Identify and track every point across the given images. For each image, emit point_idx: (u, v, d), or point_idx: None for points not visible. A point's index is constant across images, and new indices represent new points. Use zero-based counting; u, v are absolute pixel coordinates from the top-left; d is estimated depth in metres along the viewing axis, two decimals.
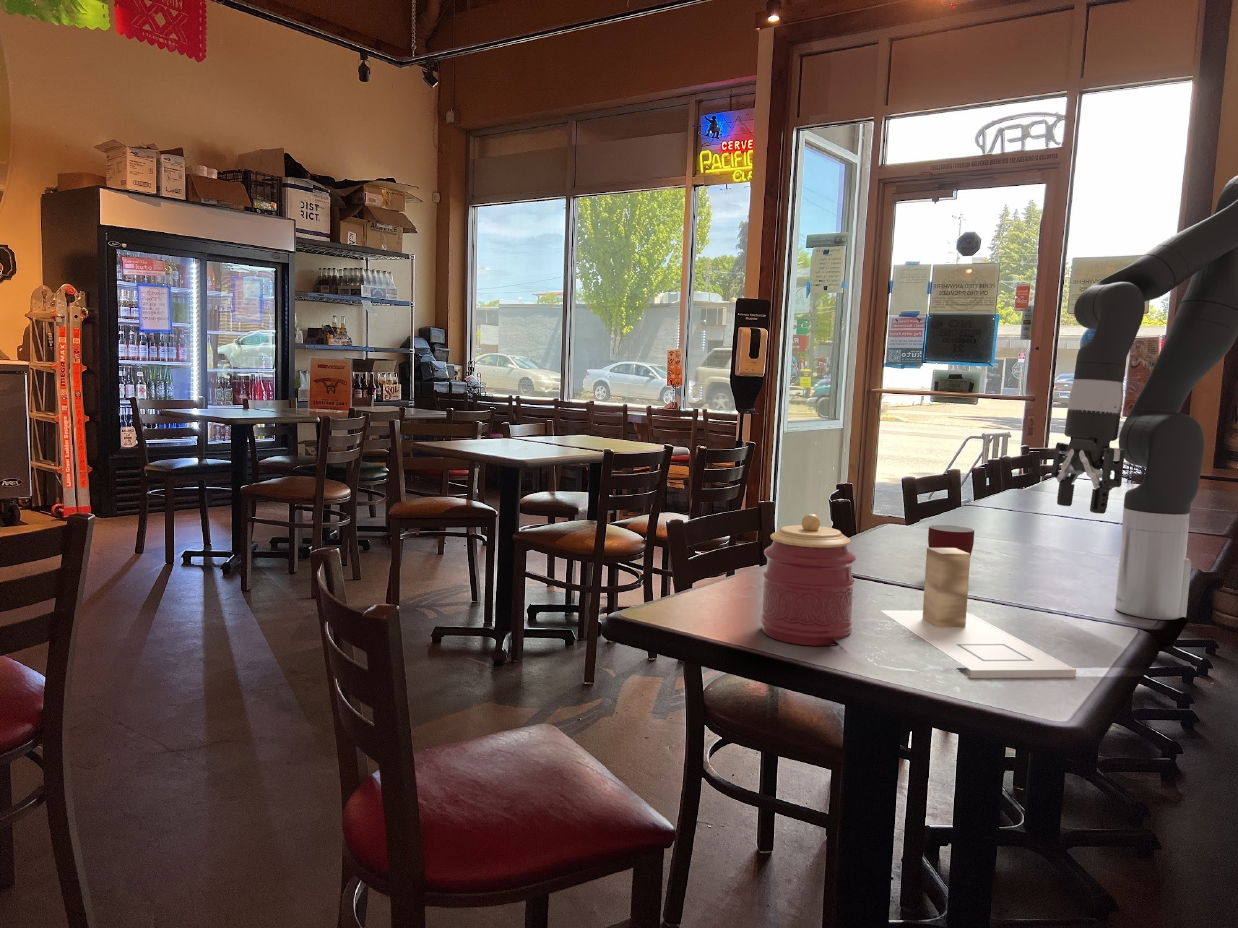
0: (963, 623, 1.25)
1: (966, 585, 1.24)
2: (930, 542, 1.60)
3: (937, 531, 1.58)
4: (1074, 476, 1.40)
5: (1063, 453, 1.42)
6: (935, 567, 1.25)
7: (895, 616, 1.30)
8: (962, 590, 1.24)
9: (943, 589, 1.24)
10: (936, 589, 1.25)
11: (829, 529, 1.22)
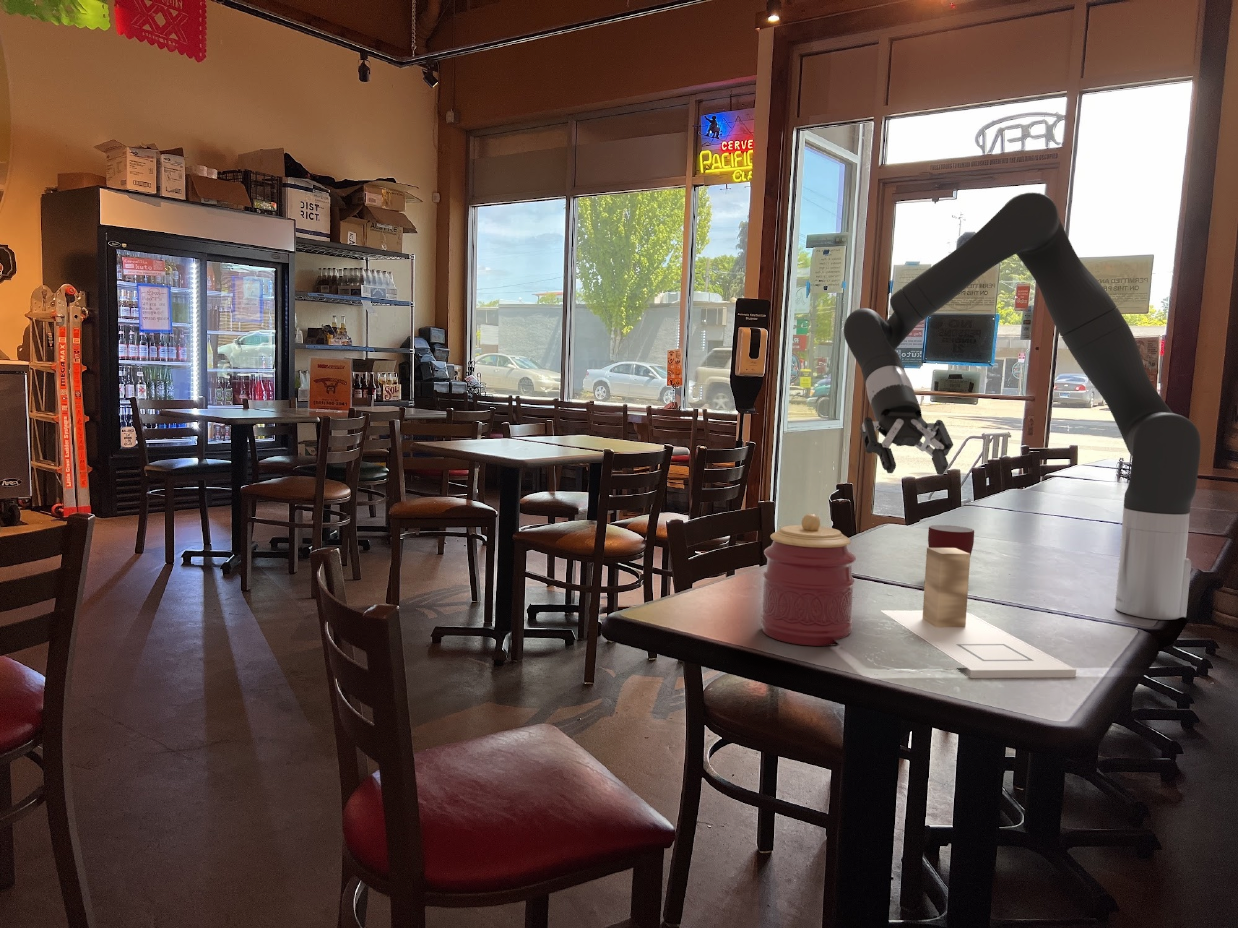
0: (963, 623, 1.25)
1: (966, 585, 1.24)
2: (930, 542, 1.60)
3: (937, 531, 1.58)
4: (932, 444, 1.39)
5: (932, 434, 1.43)
6: (935, 567, 1.25)
7: (895, 616, 1.30)
8: (962, 590, 1.24)
9: (943, 589, 1.24)
10: (936, 589, 1.25)
11: (829, 529, 1.22)
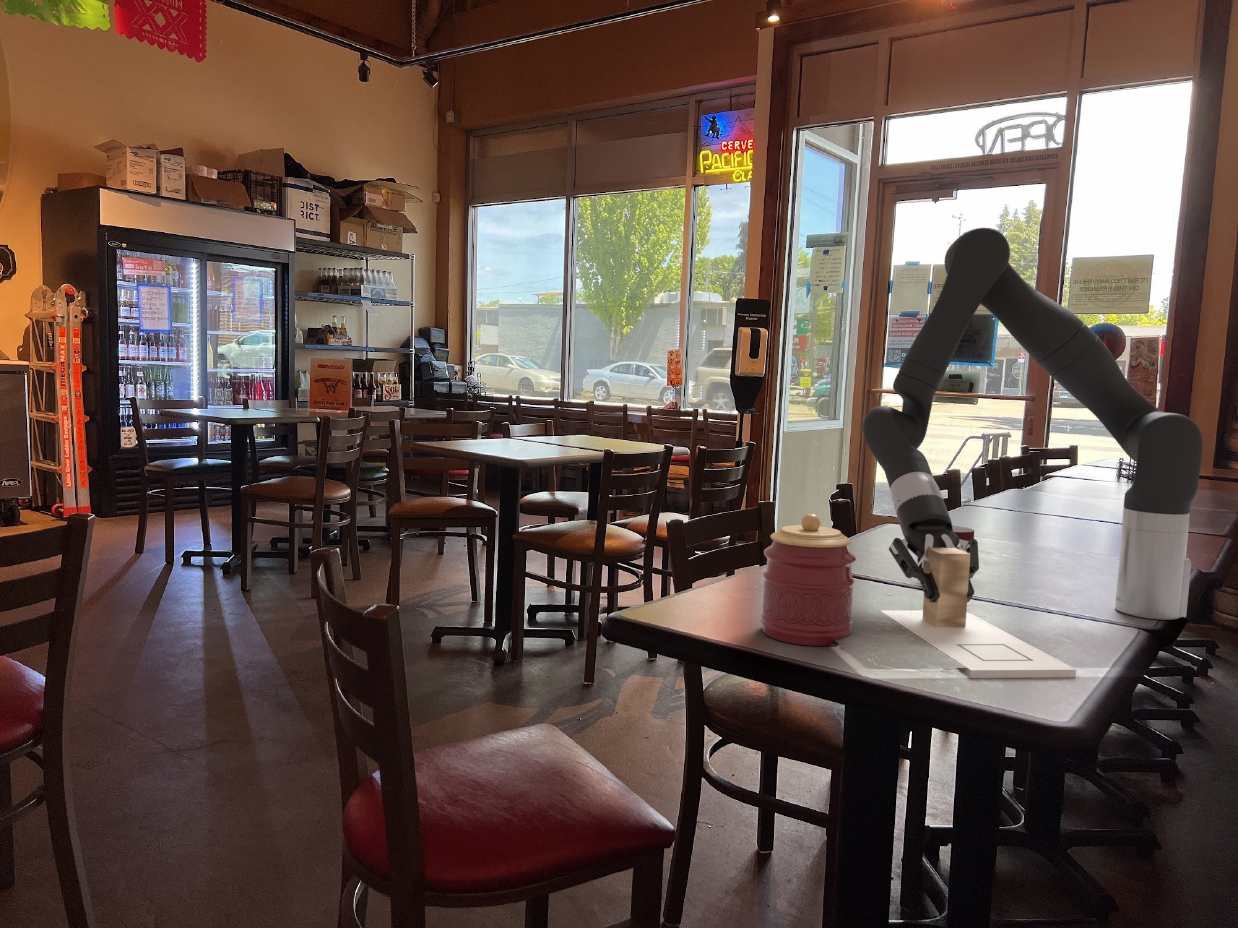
0: (963, 623, 1.25)
1: (966, 585, 1.24)
2: None
3: None
4: None
5: None
6: (935, 567, 1.25)
7: (895, 616, 1.30)
8: (962, 590, 1.24)
9: (943, 589, 1.24)
10: None
11: (829, 529, 1.22)
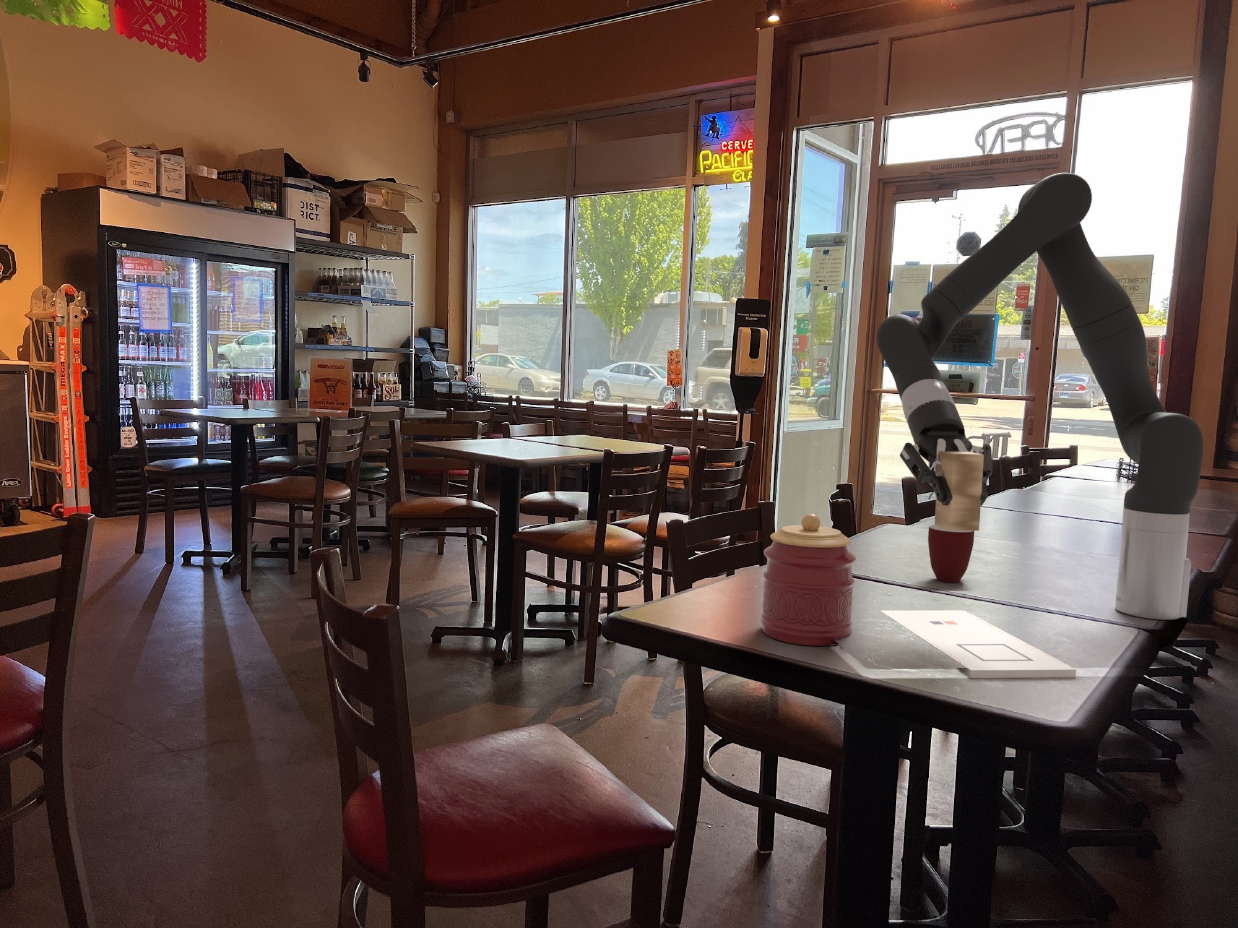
0: (976, 526, 1.22)
1: (979, 487, 1.21)
2: (930, 542, 1.60)
3: (937, 531, 1.58)
4: None
5: None
6: (947, 470, 1.22)
7: (895, 616, 1.30)
8: (975, 492, 1.21)
9: (955, 491, 1.21)
10: None
11: (829, 529, 1.22)
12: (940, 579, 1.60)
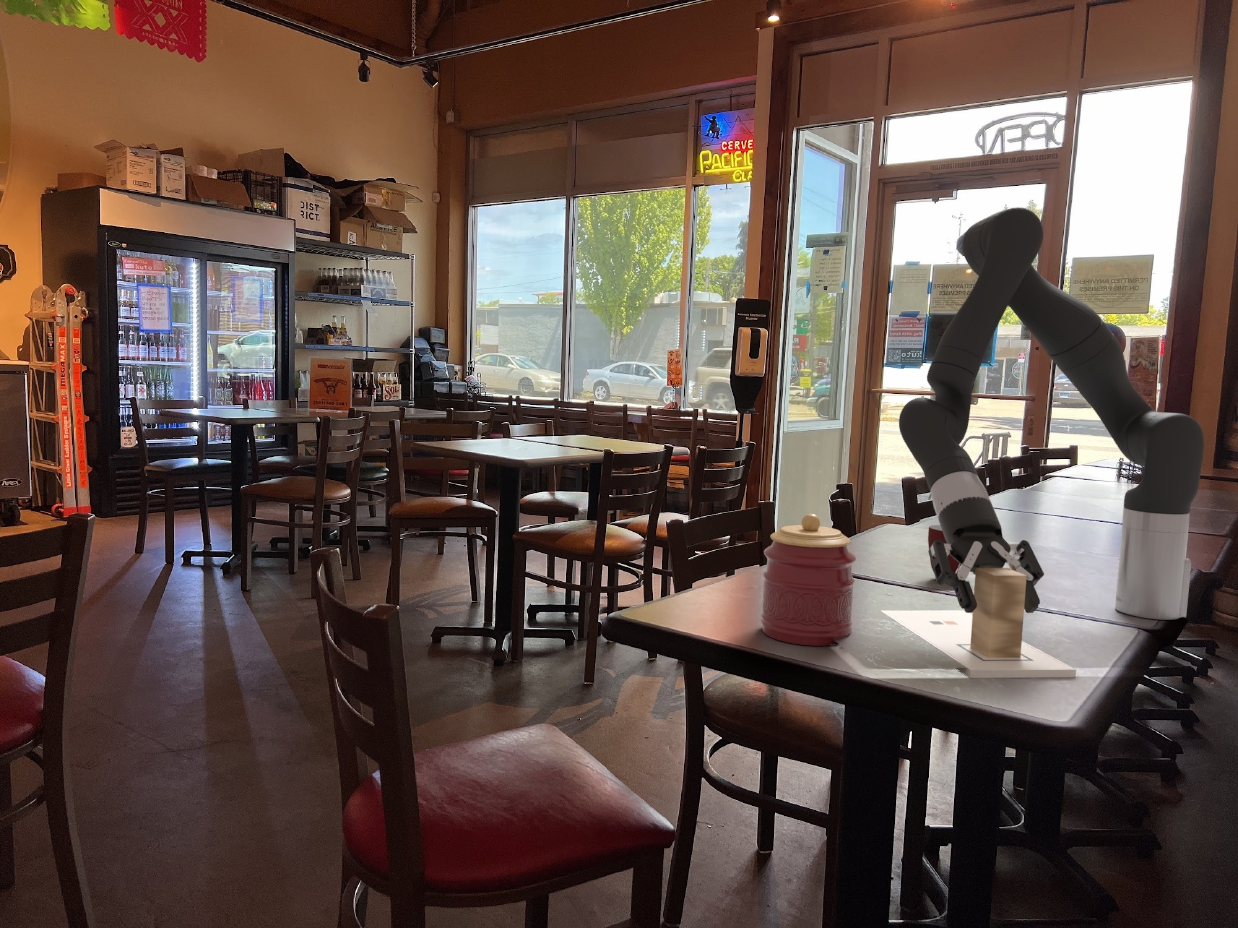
0: (1018, 653, 1.11)
1: (1021, 610, 1.11)
2: (930, 542, 1.60)
3: (937, 531, 1.58)
4: None
5: None
6: (986, 591, 1.11)
7: (895, 616, 1.30)
8: (1017, 616, 1.11)
9: (995, 615, 1.10)
10: (988, 616, 1.11)
11: (829, 529, 1.22)
12: None
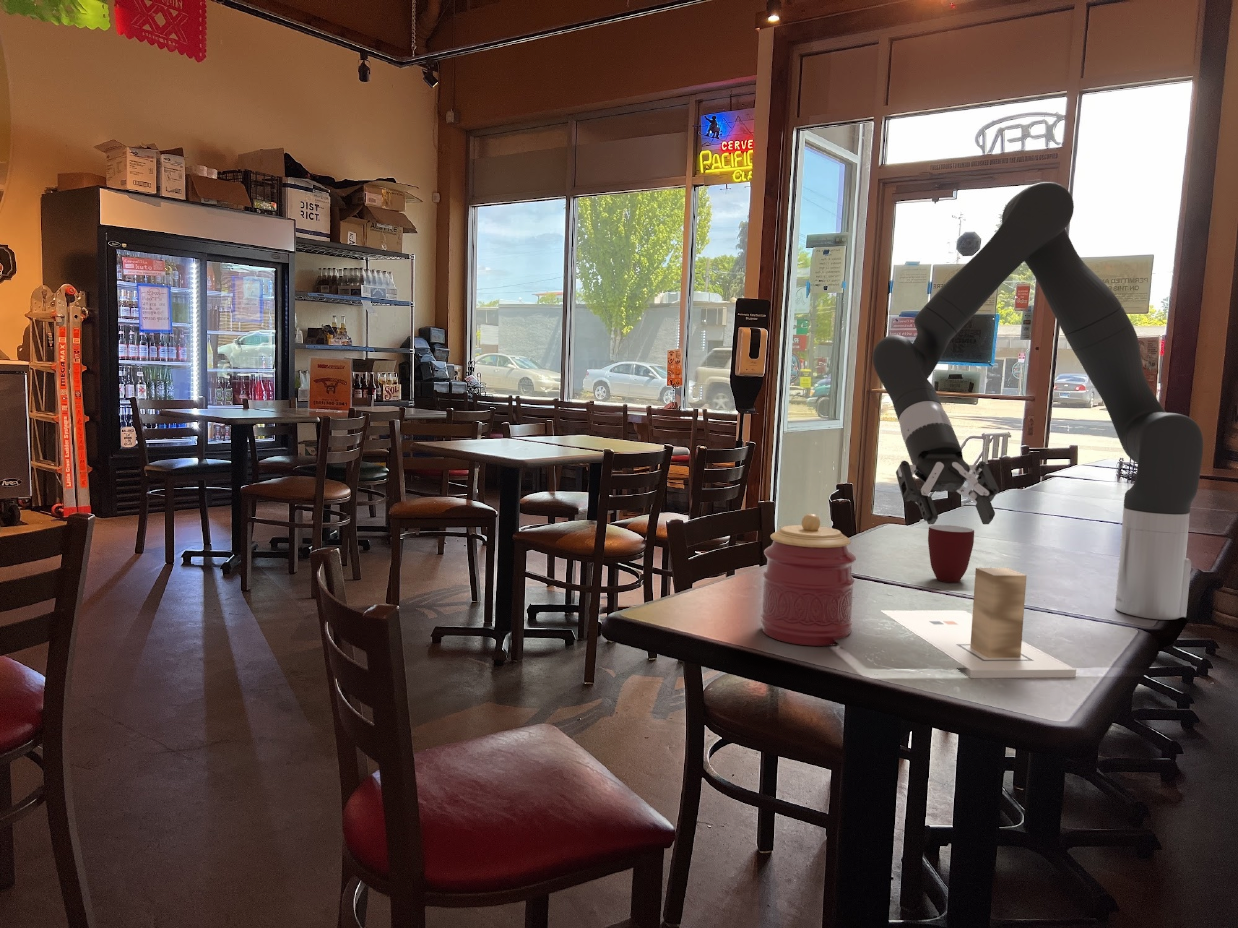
0: (1018, 653, 1.11)
1: (1021, 610, 1.11)
2: (930, 542, 1.60)
3: (937, 531, 1.58)
4: (976, 490, 1.27)
5: (974, 477, 1.30)
6: (986, 591, 1.11)
7: (895, 616, 1.30)
8: (1017, 616, 1.11)
9: (995, 615, 1.10)
10: (988, 616, 1.11)
11: (829, 529, 1.22)
12: (940, 579, 1.60)
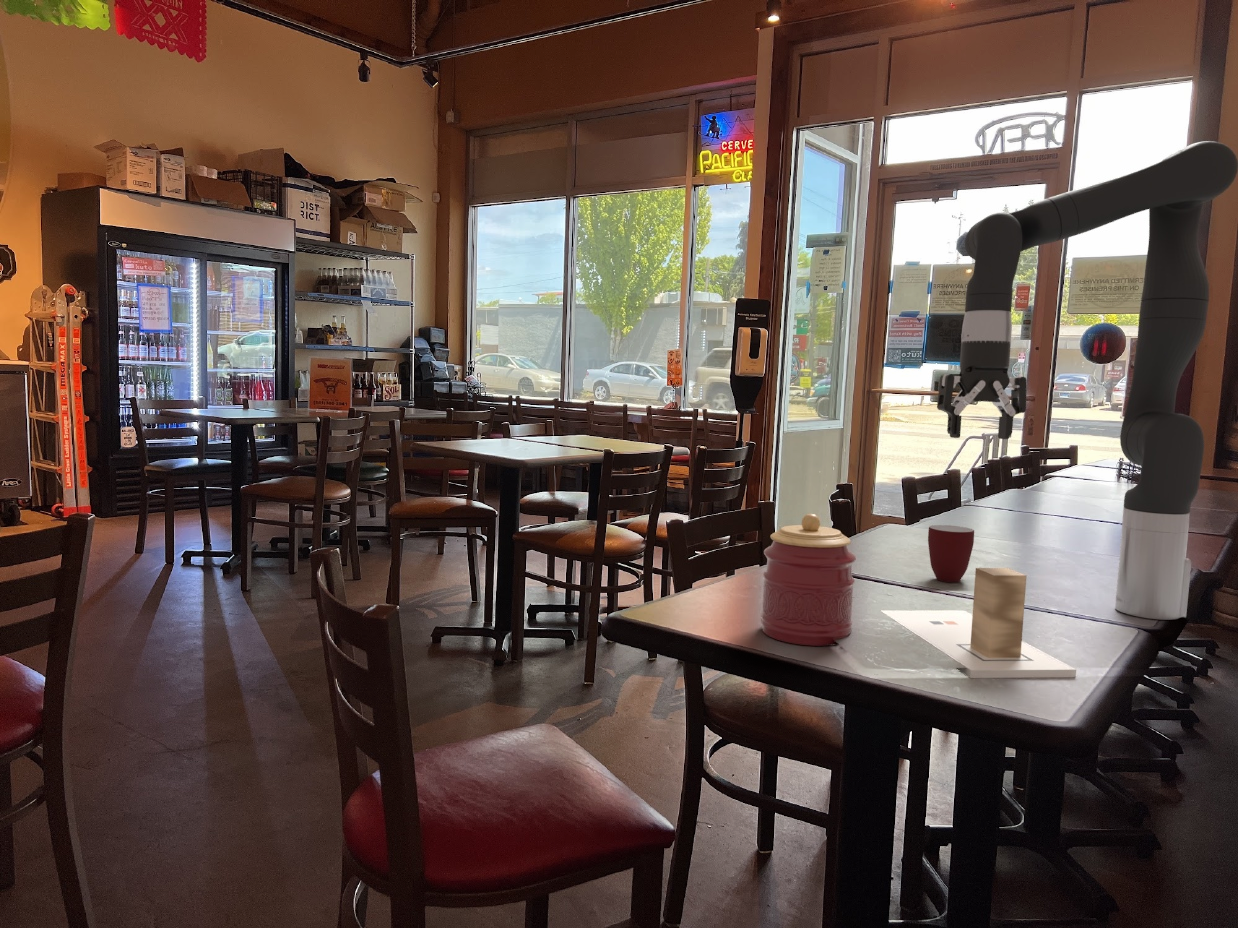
0: (1018, 653, 1.11)
1: (1021, 610, 1.11)
2: (930, 542, 1.60)
3: (937, 531, 1.58)
4: (1005, 408, 1.40)
5: None
6: (986, 591, 1.11)
7: (895, 616, 1.30)
8: (1017, 616, 1.11)
9: (995, 615, 1.10)
10: (988, 616, 1.11)
11: (829, 529, 1.22)
12: (940, 579, 1.60)
